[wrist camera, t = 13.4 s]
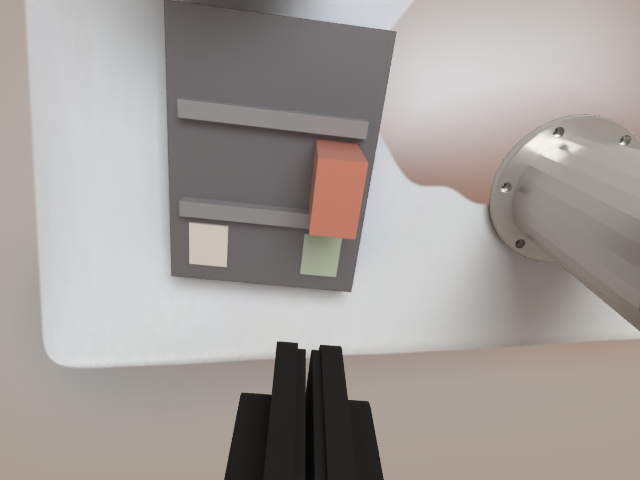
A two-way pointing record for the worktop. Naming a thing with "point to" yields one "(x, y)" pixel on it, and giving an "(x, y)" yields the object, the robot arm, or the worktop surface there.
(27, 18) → the worktop surface
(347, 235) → the handle
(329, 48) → the breaker panel
